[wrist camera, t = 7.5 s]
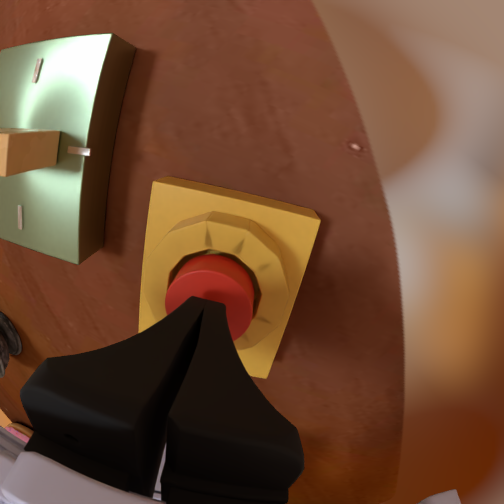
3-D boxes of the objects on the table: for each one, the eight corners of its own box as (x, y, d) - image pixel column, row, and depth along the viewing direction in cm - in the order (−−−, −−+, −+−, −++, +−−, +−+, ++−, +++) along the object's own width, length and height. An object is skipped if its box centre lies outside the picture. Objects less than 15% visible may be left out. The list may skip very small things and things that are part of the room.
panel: (108, 248, 17) (82, 268, 14) (6, 218, 17) (-22, 231, 14) (142, 47, 13) (117, 31, 10) (26, 56, 12) (-4, 50, 9)
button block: (266, 356, 19) (266, 400, 15) (149, 328, 19) (127, 366, 15) (313, 209, 16) (329, 231, 12) (167, 175, 15) (137, 187, 12)
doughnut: (50, 464, 31) (42, 481, 27) (2, 420, 28) (-10, 436, 24) (81, 465, 29) (71, 485, 25) (23, 414, 26) (9, 434, 22)
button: (244, 331, 14) (241, 354, 13) (171, 313, 14) (161, 334, 12) (262, 264, 13) (262, 282, 11) (181, 245, 13) (169, 260, 11)
